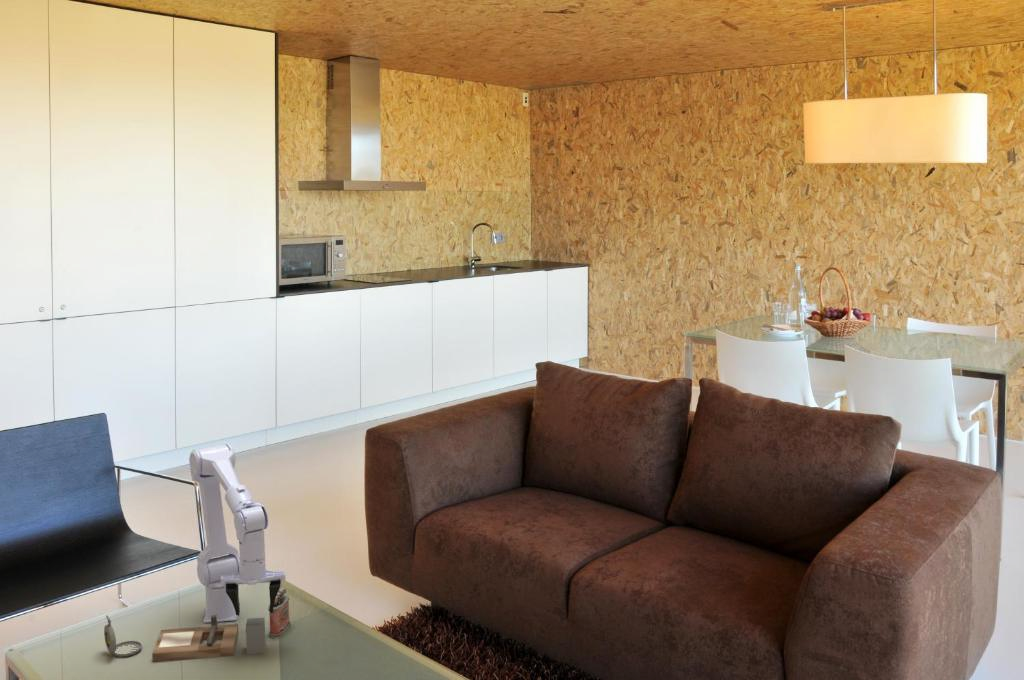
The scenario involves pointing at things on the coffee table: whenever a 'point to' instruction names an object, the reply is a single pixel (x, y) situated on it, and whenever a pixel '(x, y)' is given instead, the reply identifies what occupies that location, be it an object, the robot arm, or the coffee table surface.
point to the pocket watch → (112, 646)
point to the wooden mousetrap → (196, 642)
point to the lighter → (279, 615)
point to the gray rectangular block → (255, 635)
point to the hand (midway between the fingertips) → (254, 612)
